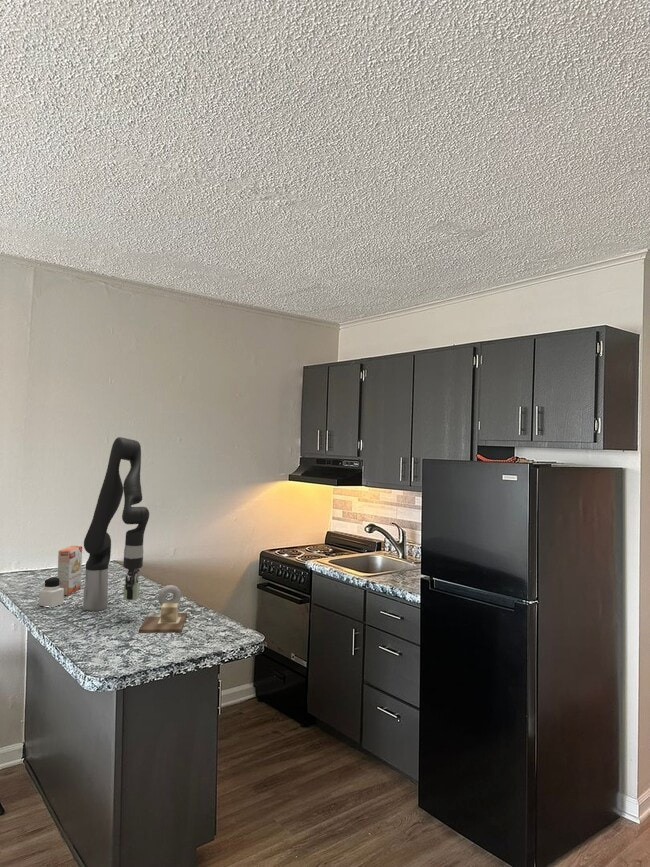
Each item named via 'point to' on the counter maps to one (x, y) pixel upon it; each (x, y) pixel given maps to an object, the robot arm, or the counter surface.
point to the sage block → (135, 591)
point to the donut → (169, 589)
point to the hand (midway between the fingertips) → (131, 597)
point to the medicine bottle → (51, 593)
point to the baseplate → (162, 624)
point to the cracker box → (70, 568)
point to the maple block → (169, 612)
